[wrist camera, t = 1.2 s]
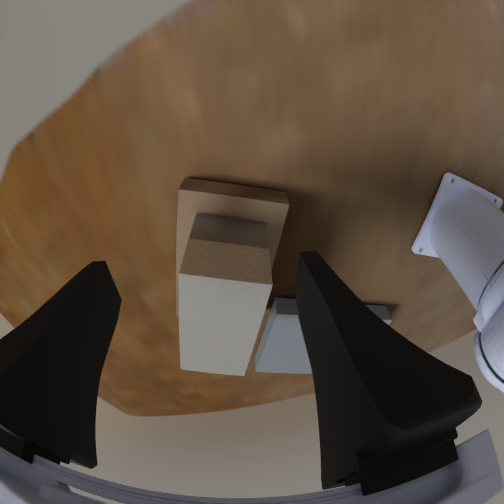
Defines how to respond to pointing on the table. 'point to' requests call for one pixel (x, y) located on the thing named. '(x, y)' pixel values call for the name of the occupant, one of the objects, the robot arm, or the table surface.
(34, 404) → the robot arm
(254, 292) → the block
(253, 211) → the stand
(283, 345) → the stand
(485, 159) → the table surface
